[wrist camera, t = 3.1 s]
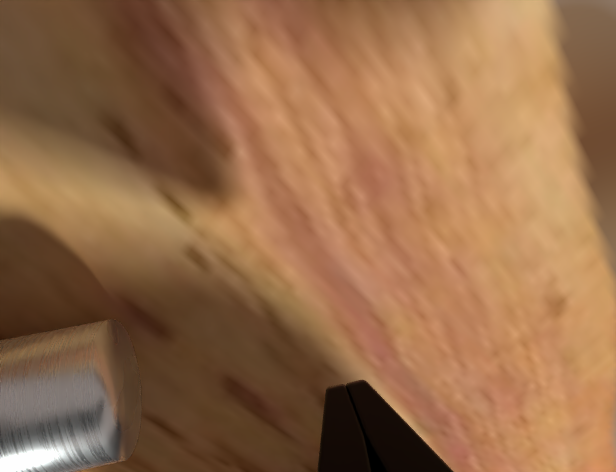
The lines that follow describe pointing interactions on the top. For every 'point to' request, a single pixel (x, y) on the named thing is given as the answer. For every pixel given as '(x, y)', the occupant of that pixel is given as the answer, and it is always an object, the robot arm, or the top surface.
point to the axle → (69, 399)
